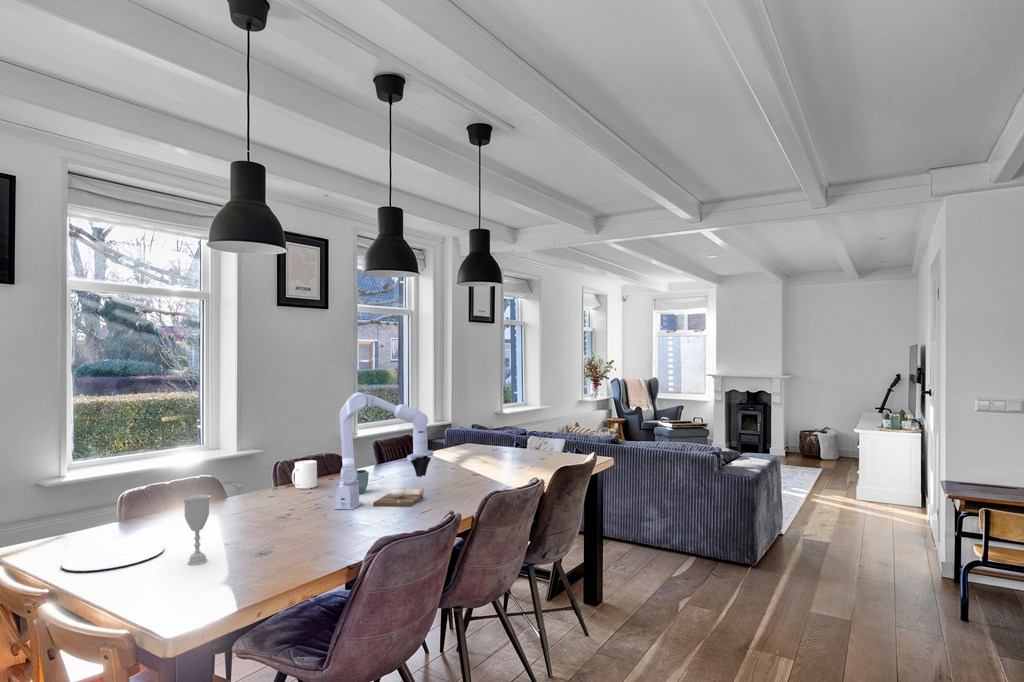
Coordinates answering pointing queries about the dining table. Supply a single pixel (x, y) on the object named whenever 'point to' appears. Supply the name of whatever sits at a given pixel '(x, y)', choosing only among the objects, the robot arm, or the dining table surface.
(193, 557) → the chalice
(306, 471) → the mug
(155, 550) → the plate
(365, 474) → the flower pot
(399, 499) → the strip board
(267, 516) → the dining table surface
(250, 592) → the dining table surface
